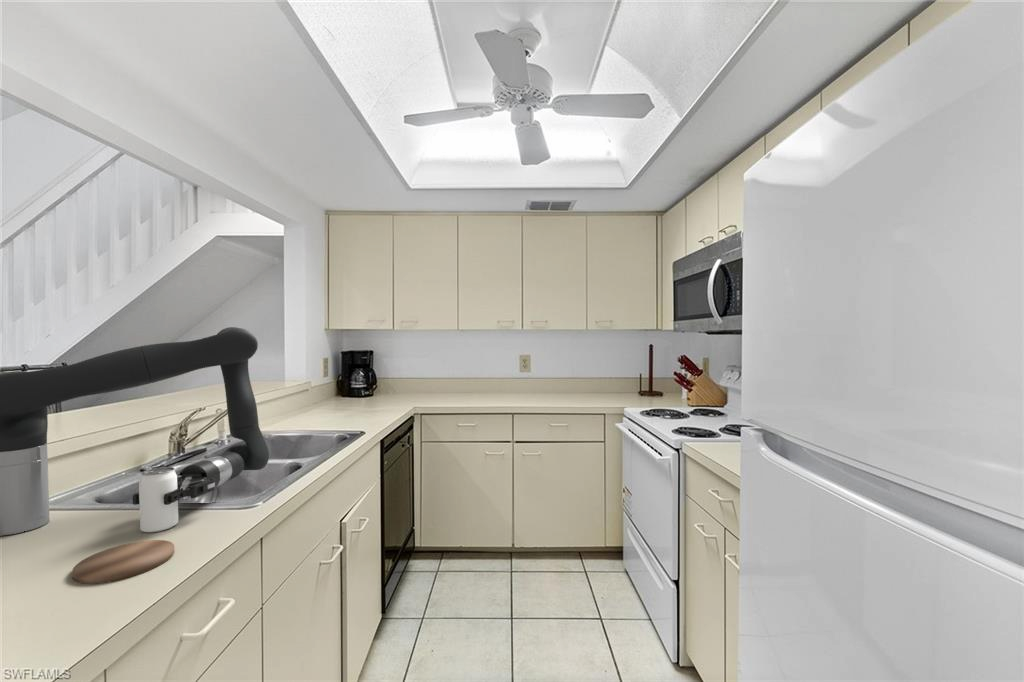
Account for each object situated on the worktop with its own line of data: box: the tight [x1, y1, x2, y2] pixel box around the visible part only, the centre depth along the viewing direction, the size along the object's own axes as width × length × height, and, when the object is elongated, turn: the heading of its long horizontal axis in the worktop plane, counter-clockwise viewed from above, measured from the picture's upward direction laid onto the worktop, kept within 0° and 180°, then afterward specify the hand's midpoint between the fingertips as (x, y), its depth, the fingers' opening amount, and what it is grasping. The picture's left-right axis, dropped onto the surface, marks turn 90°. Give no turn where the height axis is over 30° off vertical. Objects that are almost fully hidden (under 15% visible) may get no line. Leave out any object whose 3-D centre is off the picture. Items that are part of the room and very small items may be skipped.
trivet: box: [71, 539, 175, 584], centre depth 84 cm, size 14×14×1 cm
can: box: [138, 466, 179, 534], centre depth 100 cm, size 6×6×12 cm
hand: (150, 499), depth 97 cm, fingers closed on can, 6 cm apart
